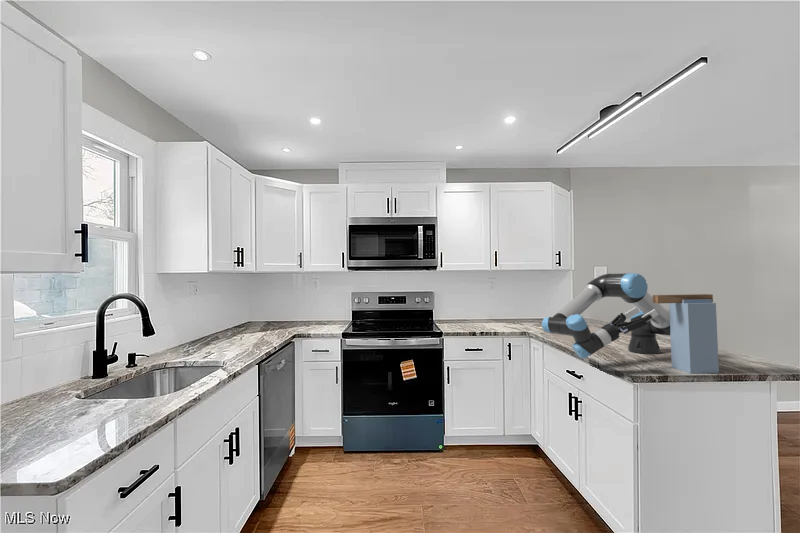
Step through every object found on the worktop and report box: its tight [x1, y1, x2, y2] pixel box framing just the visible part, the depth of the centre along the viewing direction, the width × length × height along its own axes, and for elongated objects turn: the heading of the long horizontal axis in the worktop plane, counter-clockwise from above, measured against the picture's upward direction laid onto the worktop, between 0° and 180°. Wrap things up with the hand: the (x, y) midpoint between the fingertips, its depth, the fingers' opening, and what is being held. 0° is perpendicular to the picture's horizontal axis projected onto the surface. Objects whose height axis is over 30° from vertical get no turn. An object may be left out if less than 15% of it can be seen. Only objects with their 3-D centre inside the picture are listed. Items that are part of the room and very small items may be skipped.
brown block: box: [652, 293, 714, 304], centre depth 174 cm, size 4×24×4 cm, turn 89°
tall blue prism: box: [668, 299, 720, 374], centre depth 174 cm, size 12×12×32 cm
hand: (646, 310), depth 174 cm, fingers open, 13 cm apart
